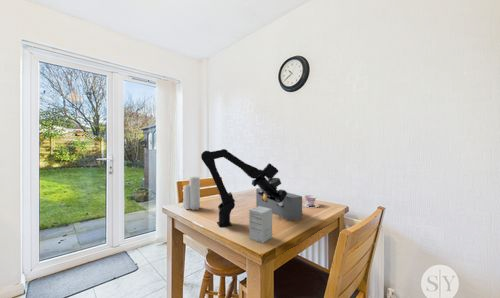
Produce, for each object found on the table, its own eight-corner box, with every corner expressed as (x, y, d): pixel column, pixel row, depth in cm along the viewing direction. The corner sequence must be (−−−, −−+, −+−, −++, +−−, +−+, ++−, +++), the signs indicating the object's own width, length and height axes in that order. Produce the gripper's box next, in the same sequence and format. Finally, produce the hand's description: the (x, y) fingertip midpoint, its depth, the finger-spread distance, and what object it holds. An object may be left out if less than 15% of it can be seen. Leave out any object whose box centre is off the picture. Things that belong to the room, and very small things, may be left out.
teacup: (304, 202, 151) (304, 193, 151) (321, 204, 145) (321, 195, 145) (299, 206, 141) (299, 197, 141) (317, 209, 135) (317, 199, 135)
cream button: (282, 206, 120) (282, 199, 120) (277, 205, 123) (277, 197, 123) (285, 206, 121) (285, 198, 121) (279, 204, 124) (279, 197, 124)
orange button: (267, 201, 131) (267, 194, 131) (262, 200, 135) (262, 193, 135) (269, 201, 132) (269, 194, 132) (264, 199, 136) (264, 192, 136)
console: (291, 220, 114) (291, 198, 114) (256, 206, 140) (256, 188, 140) (302, 217, 119) (302, 196, 119) (265, 204, 145) (265, 187, 145)
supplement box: (259, 233, 98) (259, 205, 98) (272, 237, 93) (272, 208, 93) (248, 238, 92) (248, 209, 92) (262, 243, 87) (262, 212, 87)
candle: (201, 207, 140) (201, 176, 140) (197, 210, 133) (196, 178, 133) (185, 206, 142) (185, 176, 142) (180, 209, 135) (179, 177, 135)
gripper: (284, 175, 110) (299, 193, 117) (262, 171, 126) (276, 188, 132) (272, 192, 106) (289, 210, 112) (251, 186, 121) (266, 203, 128)
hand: (280, 202), depth 121 cm, fingers closed, pressing on cream button
